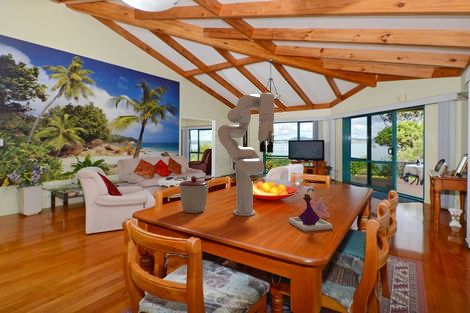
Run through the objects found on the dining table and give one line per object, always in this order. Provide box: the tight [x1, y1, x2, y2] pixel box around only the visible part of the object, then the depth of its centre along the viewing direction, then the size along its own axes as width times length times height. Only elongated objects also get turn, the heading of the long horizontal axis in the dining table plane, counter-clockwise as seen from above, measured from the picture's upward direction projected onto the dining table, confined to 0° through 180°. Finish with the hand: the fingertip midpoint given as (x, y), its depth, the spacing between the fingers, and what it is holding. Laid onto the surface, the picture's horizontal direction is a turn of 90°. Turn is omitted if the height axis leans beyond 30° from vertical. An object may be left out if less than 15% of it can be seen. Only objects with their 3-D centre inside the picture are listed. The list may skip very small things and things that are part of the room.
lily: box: [311, 197, 331, 219], centre depth 144 cm, size 12×12×10 cm
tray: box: [288, 216, 333, 233], centre depth 128 cm, size 15×15×2 cm
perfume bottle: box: [298, 187, 321, 225], centre depth 127 cm, size 8×8×18 cm
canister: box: [178, 175, 210, 214], centre depth 153 cm, size 18×18×21 cm
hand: (266, 152), depth 129 cm, fingers open, 9 cm apart
